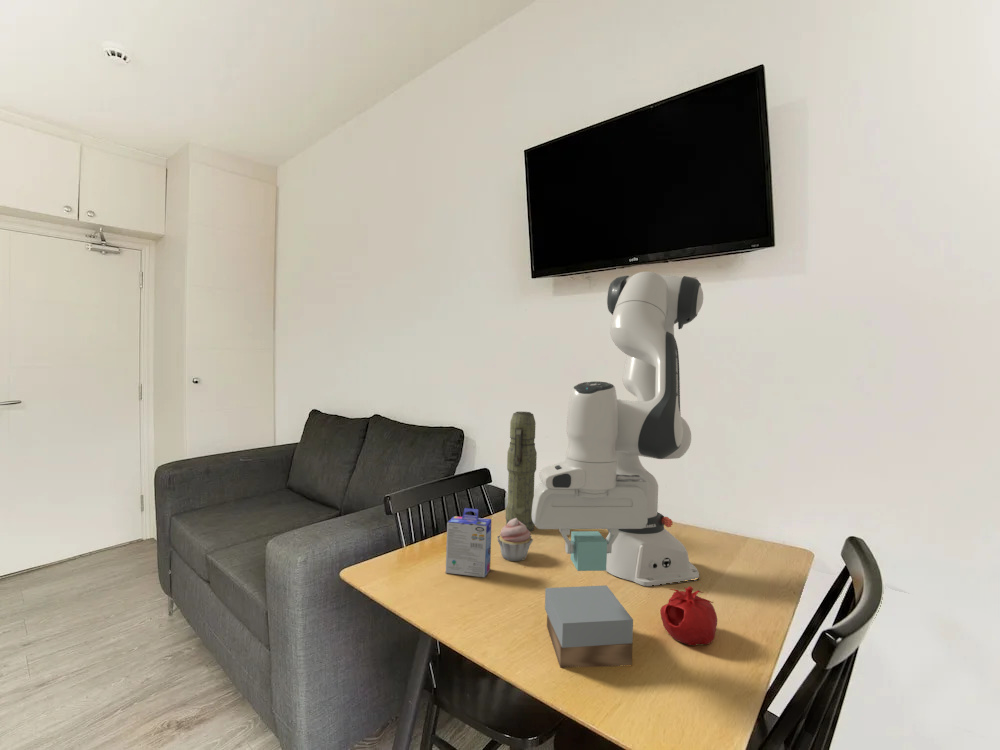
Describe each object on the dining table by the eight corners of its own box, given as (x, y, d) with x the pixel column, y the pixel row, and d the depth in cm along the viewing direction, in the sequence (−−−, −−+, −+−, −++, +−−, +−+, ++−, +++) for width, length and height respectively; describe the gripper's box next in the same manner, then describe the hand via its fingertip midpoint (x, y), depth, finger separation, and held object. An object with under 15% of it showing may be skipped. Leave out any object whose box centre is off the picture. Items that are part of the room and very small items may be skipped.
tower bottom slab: (608, 627, 89) (609, 606, 89) (631, 668, 77) (632, 644, 77) (546, 628, 88) (547, 608, 88) (560, 670, 76) (560, 646, 76)
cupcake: (531, 566, 114) (532, 525, 114) (493, 562, 116) (494, 522, 115) (534, 551, 123) (535, 513, 123) (499, 548, 125) (500, 511, 125)
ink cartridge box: (491, 568, 112) (492, 508, 112) (486, 578, 107) (487, 516, 106) (452, 564, 114) (453, 505, 114) (444, 573, 109) (446, 512, 108)
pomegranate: (708, 623, 90) (710, 576, 90) (724, 655, 80) (726, 602, 80) (655, 617, 92) (657, 571, 92) (665, 648, 82) (666, 595, 82)
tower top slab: (606, 606, 89) (606, 585, 89) (632, 643, 77) (633, 619, 77) (544, 609, 87) (545, 587, 87) (562, 647, 75) (562, 623, 75)
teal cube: (597, 558, 85) (598, 531, 84) (606, 570, 80) (607, 541, 80) (570, 558, 84) (571, 531, 84) (577, 570, 79) (578, 541, 79)
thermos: (536, 522, 146) (539, 411, 146) (532, 535, 135) (535, 414, 134) (508, 519, 148) (511, 409, 147) (502, 532, 136) (505, 413, 136)
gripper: (640, 470, 86) (638, 545, 86) (531, 469, 84) (528, 545, 84) (655, 479, 79) (652, 559, 80) (537, 478, 78) (534, 560, 78)
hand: (588, 552), depth 82 cm, fingers closed on teal cube, 5 cm apart
